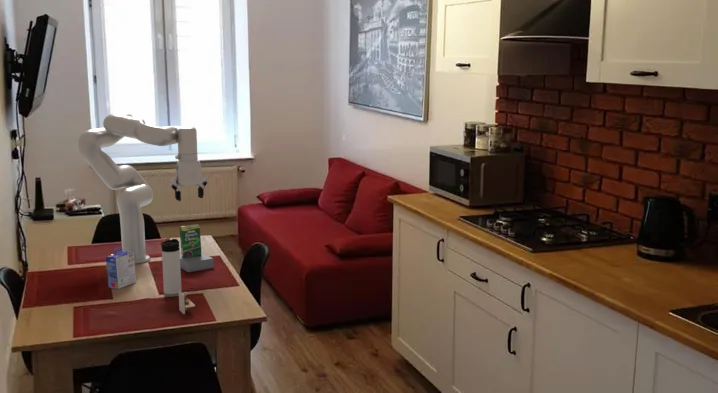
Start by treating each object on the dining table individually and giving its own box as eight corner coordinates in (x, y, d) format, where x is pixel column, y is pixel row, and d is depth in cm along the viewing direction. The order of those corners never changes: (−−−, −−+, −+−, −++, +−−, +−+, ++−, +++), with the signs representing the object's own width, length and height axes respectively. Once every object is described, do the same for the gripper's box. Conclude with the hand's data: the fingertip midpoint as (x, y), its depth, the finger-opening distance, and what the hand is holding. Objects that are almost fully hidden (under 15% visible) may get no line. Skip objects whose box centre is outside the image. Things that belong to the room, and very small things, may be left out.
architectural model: (189, 309, 251) (188, 288, 250) (195, 315, 245) (194, 294, 244) (179, 311, 249) (178, 290, 248) (185, 317, 244) (184, 296, 242)
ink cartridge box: (125, 280, 282) (123, 244, 280) (136, 282, 280) (134, 245, 277) (107, 287, 273) (104, 250, 271) (118, 289, 271) (116, 251, 268)
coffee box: (182, 258, 298) (180, 227, 296) (180, 256, 301) (179, 225, 298) (201, 256, 302) (200, 225, 299) (199, 254, 304) (198, 223, 302)
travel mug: (185, 292, 268) (183, 239, 264) (175, 297, 262) (172, 243, 258) (170, 290, 270) (168, 238, 266) (160, 295, 264) (157, 242, 260)
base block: (188, 272, 293) (188, 262, 292) (172, 263, 305) (171, 254, 304) (213, 267, 299) (213, 258, 299) (196, 259, 312) (196, 250, 311)
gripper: (171, 160, 286) (173, 203, 289) (211, 156, 296) (213, 198, 299) (163, 158, 292) (165, 200, 295) (203, 154, 302) (205, 195, 305)
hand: (189, 199), depth 297 cm, fingers open, 9 cm apart
